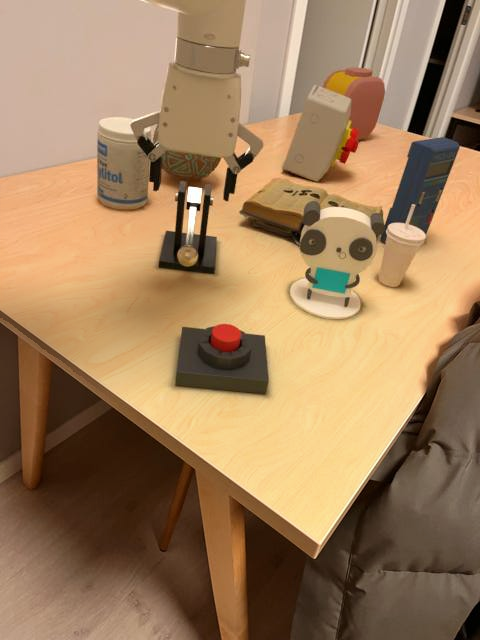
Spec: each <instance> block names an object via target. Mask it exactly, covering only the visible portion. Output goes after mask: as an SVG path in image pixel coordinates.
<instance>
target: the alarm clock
mask: <svg viewBox="0 0 480 640" xmlns="http://www.w3.org/2000/svg"><path fill="white" fill-rule="evenodd" d="M373 73H374V71H373V70H372V69H370V68H366V67H347V68H345V69H338V70H334V71H333V72H331V73H330V74H329V75H328V76H327V77H326V79H325V81H324V82H323V85H322V87H323V88H325V89H328V90H330V91H333V92H336V93H338V94H341V95H343V96H346V97H348V98H350V99H351V115H350V118H349V120H350V121H351V124H350V127H349V128H350V129H353V128H355V129H357V130H359V132H358V135H357V137H356V140H357V141H363V140H364V139H366V138H368V137H369V136H370V135H371V134H372V133H373V131H374V130H375V128H376V126H377V123H378V120H379V117H380V114H381V111H382V107H383V103H384V100H385V96H386V87H385V82H384V80H383V79H382V78H381V77H379V76H373Z"/></svg>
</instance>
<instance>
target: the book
mask: <svg viewBox="0 0 480 640" xmlns="http://www.w3.org/2000/svg"><path fill="white" fill-rule="evenodd" d="M311 201H317V202H318V203H319V204H320V206H321V210H322V209H325V208H329V207H344V208H349V209H353V210H356V211H359V212H362V213H364V214H365V215H367V216H368V217H369V218H370V217H371V215H372V214H373V213H380V214H382V216H383V217H384V209H383V206H382V205H380V206H376V205H374V206H373V205H367V204H362V203H358V202H355V201H352V200H350V199H348V198H345V197H343V196H340V195H338V194H335V193H331V194H330V193H328V191H327V190H326V189H325V188H322V187H320V186H319V187H318V186H317V187H316V186H311V185H302V184H298V183H295V182H292V181H291V180H289V179H285V178H281V177H273V178H272V179H271V180H270V181H269V182H268V183H266V184H265V185H264V186H263V187H262V188H260V189H259V190H258V191H256V193H254V194H253V195H252V196H251V197H249V198H248V199H247V200H245V201H244V202H243V203H242V209H241V210H239V211H238V213H239V214H240V215H242V216H243V217H245V218H246V217H247V218H250V219H254V220H255V221H253V224H252V226H253V227H257V228H261V229H263V230H266V231H270V232H273V233H276V234H279V235H282V236H286V237H292V240H293V241H294V242H295V244H296V245H298V246H300V239H301V233H302V230H303V227H304V225H305V224H304V223H303V213H304V208H305V206H306V204H307V203H309V202H311ZM375 235H376V236H378V235H377V234H375Z"/></svg>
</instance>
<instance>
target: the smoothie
mask: <svg viewBox="0 0 480 640" xmlns="http://www.w3.org/2000/svg"><path fill="white" fill-rule="evenodd" d="M414 208H415V205H414V204H412V206H411V209H410V212H409V214H408V217H407V220H406V223H392V224H389V225H388V228H387V230H386V233H387V238H386V243H384V247H383V248H384V249H383V252H382V253H383V254H382V259H381V263H380V269H379V274H378V281H379V282H380V283H381V284H382V285H384V286H386V287H390V288H396V287H399V286H400V284H401V283H402V281H403V279H404V277H405V275H406V274H407V271H408V269H409V268H410V267H411V264H412V262H413V260H414V258H415V257H416V255H417V253H418V252H419V249H420V247H421V245H423V244H425V242H426V238H427V234H425V233H424V232H423V231H422V230H421V229H419V228H417V227H415V226H412V225H409V222H410V219H411V216H412V214H413V211H414Z"/></svg>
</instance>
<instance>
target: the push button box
mask: <svg viewBox="0 0 480 640" xmlns="http://www.w3.org/2000/svg"><path fill="white" fill-rule="evenodd" d="M215 326H216V325H214V326H209V327H206V328H198V327H191V326H190V327H189V326H182V328H181V334H180V342H179V347H178V348H179V349H178V355H177V356H178V357H177V363H176V364H177V365H176V371H175V372H176V373H175V383H174V385H175V386H176V387H177V386H178V387H180V386H181V387H189V388H199V389H210V390H220V391H229V392H241V393H250V394H251V393H252V394H261V395H266V394H267V390H268V386H269V382H270V381H269V380H270V379H269V369H268V357H267V345H266V344H267V343H266V335H265V334H255V333H246V332H244V331H243V330H241V329H239V330H240V331H241V340H240V345H239V348H238V349H237V350H236V351H233V352H221V351H219V350H217V349H215V348H213V347H212V345H211V335H212V329H213V328H214V327H215Z"/></svg>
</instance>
